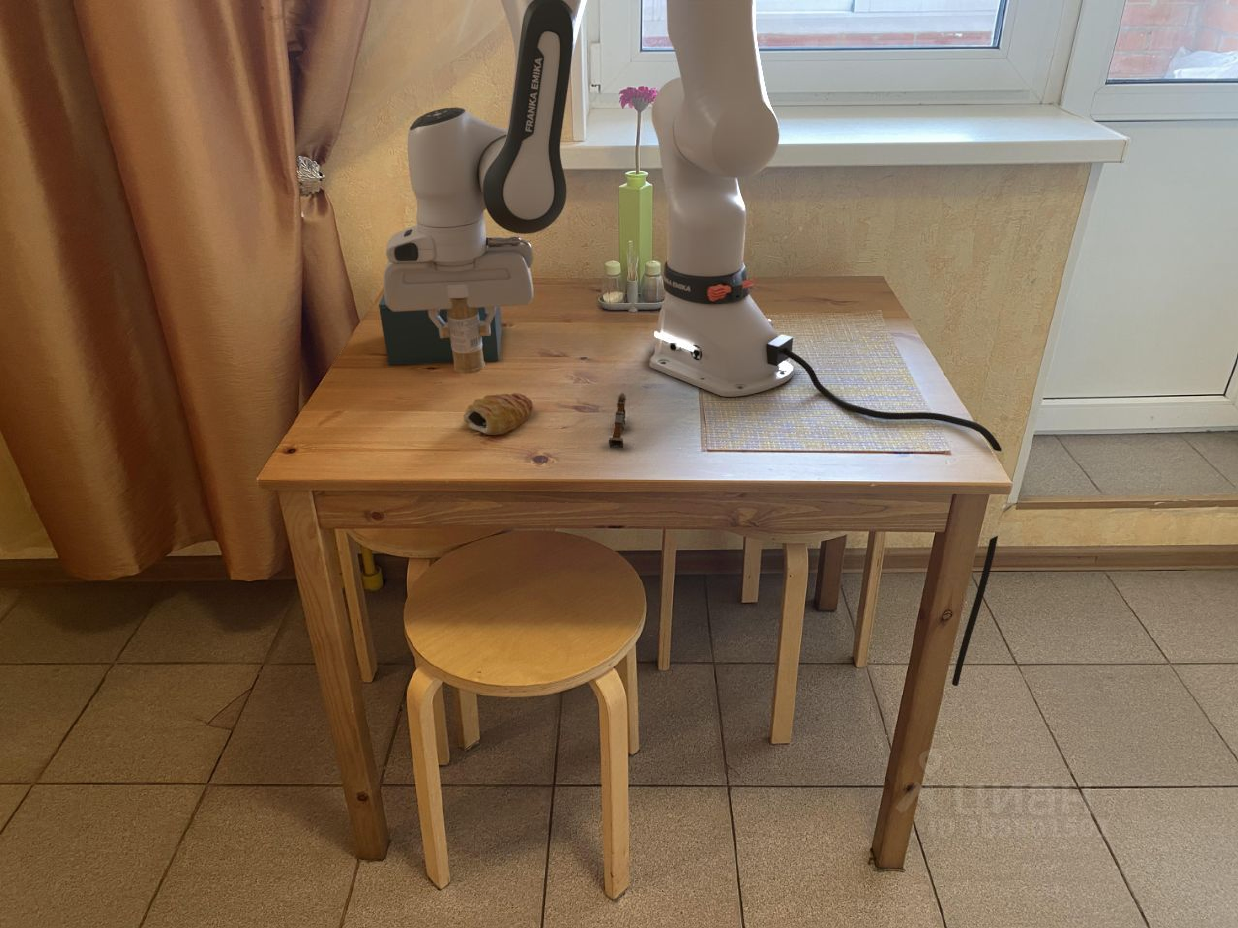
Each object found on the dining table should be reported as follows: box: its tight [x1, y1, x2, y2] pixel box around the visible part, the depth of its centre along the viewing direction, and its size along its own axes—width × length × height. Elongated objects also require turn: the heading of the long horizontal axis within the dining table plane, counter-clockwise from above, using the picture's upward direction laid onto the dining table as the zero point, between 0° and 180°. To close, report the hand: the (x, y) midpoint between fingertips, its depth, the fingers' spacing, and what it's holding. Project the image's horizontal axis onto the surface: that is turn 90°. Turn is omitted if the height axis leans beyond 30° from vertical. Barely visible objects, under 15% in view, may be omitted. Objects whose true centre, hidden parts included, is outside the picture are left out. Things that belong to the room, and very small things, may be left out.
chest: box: [379, 306, 503, 366], centre depth 137 cm, size 17×13×9 cm
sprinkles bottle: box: [446, 284, 486, 375], centre depth 124 cm, size 5×5×14 cm
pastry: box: [463, 392, 534, 436], centre depth 117 cm, size 9×7×4 cm
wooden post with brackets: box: [608, 392, 627, 450], centre depth 114 cm, size 2×8×4 cm, turn 173°
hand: (465, 335), depth 125 cm, fingers closed on sprinkles bottle, 4 cm apart
